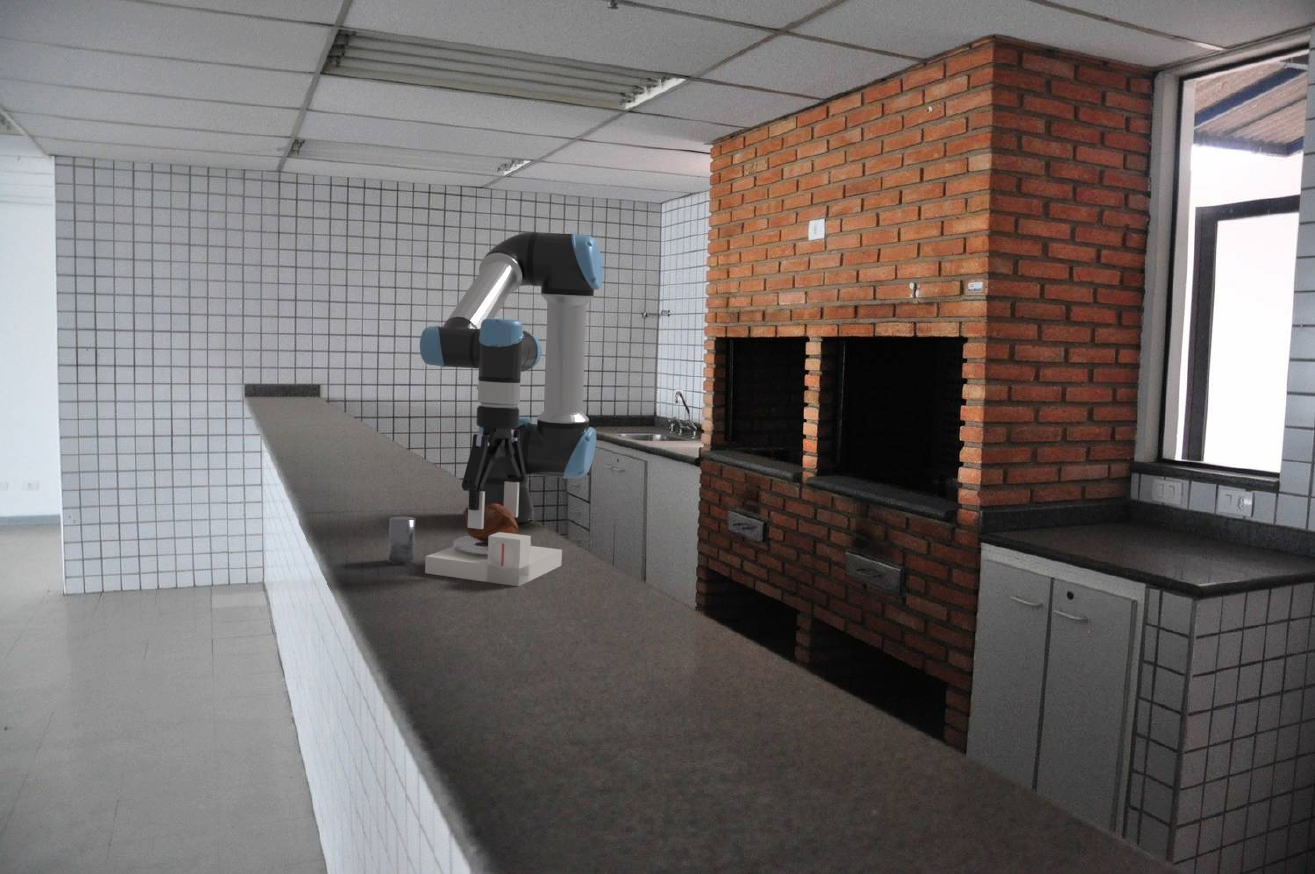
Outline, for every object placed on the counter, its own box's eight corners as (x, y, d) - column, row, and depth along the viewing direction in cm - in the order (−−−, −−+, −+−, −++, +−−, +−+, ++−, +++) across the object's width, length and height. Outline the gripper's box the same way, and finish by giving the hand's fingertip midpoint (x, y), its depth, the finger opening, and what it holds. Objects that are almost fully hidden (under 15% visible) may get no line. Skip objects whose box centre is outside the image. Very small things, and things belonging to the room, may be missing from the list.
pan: (476, 539, 191) (476, 531, 191) (543, 548, 187) (544, 540, 187) (438, 552, 178) (438, 544, 178) (509, 562, 174) (510, 554, 174)
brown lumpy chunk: (531, 530, 177) (502, 481, 178) (490, 553, 174) (461, 504, 174) (516, 541, 189) (489, 496, 189) (477, 564, 185) (450, 517, 186)
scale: (474, 554, 192) (476, 512, 191) (561, 565, 187) (563, 523, 186) (423, 573, 175) (425, 528, 174) (517, 587, 169) (519, 540, 168)
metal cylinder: (397, 558, 185) (398, 515, 184) (419, 561, 184) (420, 518, 183) (383, 563, 181) (384, 519, 180) (405, 566, 180) (406, 522, 179)
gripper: (510, 401, 193) (506, 509, 195) (444, 407, 169) (439, 530, 171) (546, 403, 191) (541, 514, 193) (484, 410, 167) (479, 535, 169)
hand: (493, 522), depth 182 cm, fingers open, 13 cm apart
